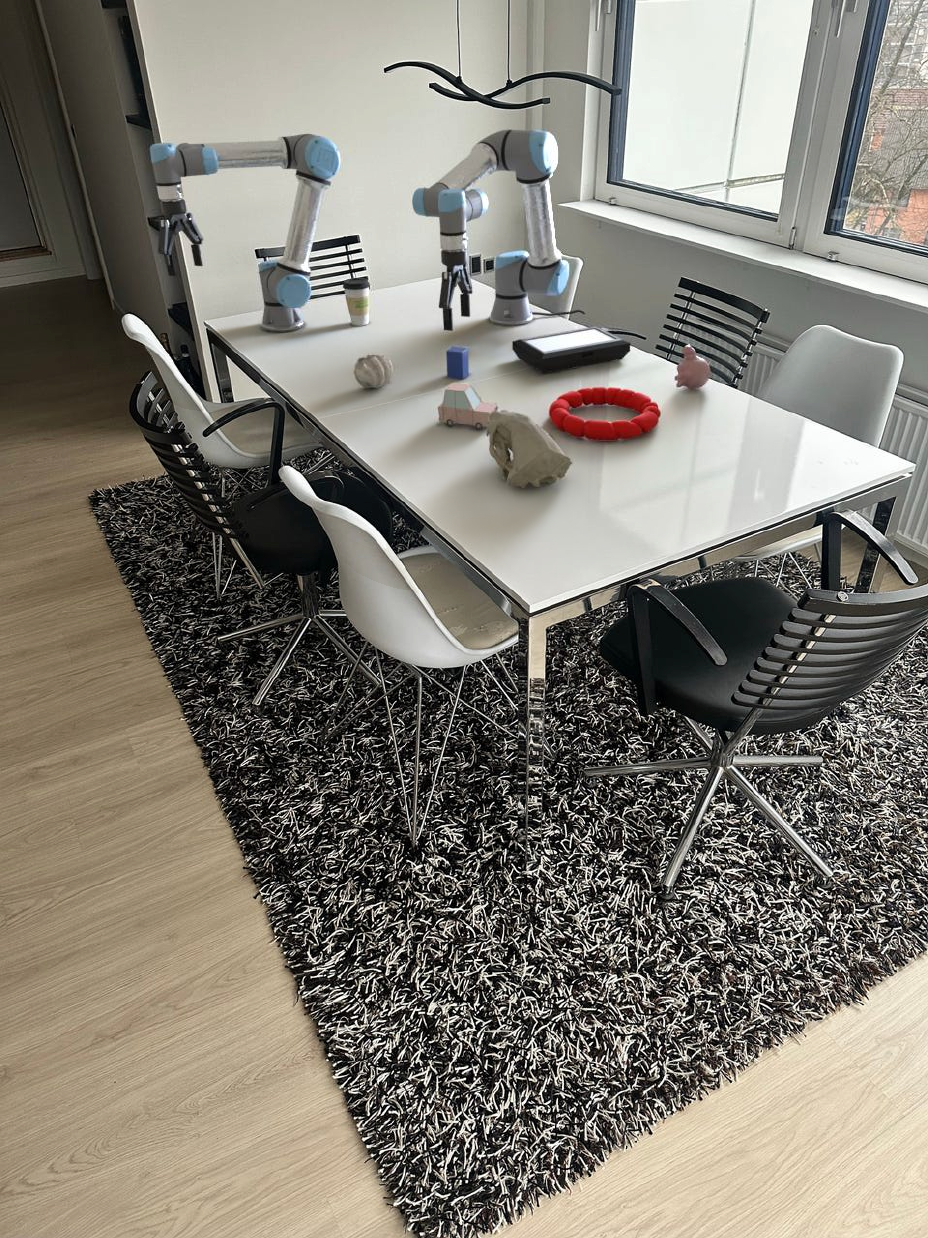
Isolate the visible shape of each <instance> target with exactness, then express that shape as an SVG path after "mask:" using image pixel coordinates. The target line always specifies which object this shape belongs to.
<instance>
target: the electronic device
mask: <svg viewBox="0 0 928 1238" xmlns="http://www.w3.org/2000/svg"><path fill="white" fill-rule="evenodd" d="M511 349H512V350H513V352H514V354H515V355H516V356H517V358H518V359H519V360H520V361H522V362H523V363H526V364H527V365H529V366H530V367H532V368H534V369H536V370H537V371H539V372H540V373H541V374H548V373H553V372H554V373H555V372H559V371H565V370H571V369H577V368H582V367H587V366H593V365H597V364H604V363H609V362H615V361H619V360H623V359H624V358H625V357H626V356H627V355H628V354H629V353H630V351H631V342H630V341H627V340H625V339H623V338H621V337H619V336H617V335H615V334H613V333H611V332H609V331H607V330H605V329H603V328H601V327H599V326H591V327H590V326H589V327H585V328H579V329H573V330H568V331H567V330H566V331H561V332H555V333H551V334H544V335H538V336H532V337H526V338H520V339H516V340H513V341H511Z"/></svg>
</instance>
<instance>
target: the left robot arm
mask: <svg viewBox="0 0 928 1238" xmlns="http://www.w3.org/2000/svg"><path fill="white" fill-rule="evenodd" d="M149 152H150V161H151V165H152V170H153V175H154V178H155V184H156V190H157V194H158V199H159V200H160V203H159V205H160V209H161V213H162V214H163V215H164V216H165V219H159V220H158V225H159V233H158V246H157V253H158V254H160V255H162V256H163V257H164V262H165V265H166V270H167V273H168V274H167V275H168V276H169V277H177V276H178V273H177V268H176V263H175V258H174V257H175V256H174V253H172V250H173V246H174V242H175V238H176V236H177V235H178V234H179V233H180V232H183V234H184V235H185V237H187V239H188V240H189V241H190V242H191V243H192V244H190V247H191V248H190V249H191V254H192V260H193V265H194V266H195V267H203V266H204V264H203V260H202V259H203V258H202V251H201V246H200V245H203V241H204V237H203V235H202V233H201V231H200V230H199V228H198V225H197V223H196V221H195V220H194V217H193V213H192V212H187V211H188V209H187V205H186V200H185V199H184V197H185V194H184V190H183V185H182V178H186V177H197V176H209V175H215V174H218V171H219V170H223V169H243V168H244V169H245V168H246V169H247V168H267V167H269V168H270V167H281V169H283V170H295V178H296V179H297V182H298V185H297V189H296V193H295V199H294V204H293V208H292V214H291V217H290V223H289V227H288V232H287V237H286V241H285V245H284V246H285V248H284V252H283V256H282V257H281V258H279V259H271V260H265V261H260V263H259V264H258V275H259V279H260V287H261V292H262V293H261V294H262V299H263V313H262V319H261V326H262V330H264V331H265V332H271V333H286V332H293V331H296V330H297V331H298V330H300V329H302V328H304V326H305V318H304V317H303V314H302V312H301V310H300V308H301V307H303V306H305V305H306V304H307V303H308V302H309V300H310V298H311V295H312V286H311V282H310V279H311V273H312V269H311V267H310V266H309V262H310V257H311V253H312V248H313V244H314V240H315V235H316V231H317V226H318V221H319V217H320V213H321V208H322V204H323V199H324V194H325V191H326V190H328V189H329V188H331V186H332V185H331V184H332V180H333V178H334V176H336V174H338V171H339V169H340V167H341V154H340V151H339V149H338V147H337V145H336V144H335V143H334V142H333V141H332V140H330V139H329V138H327V137H325V136H321V135H316V134H312V133H302V134H301V133H300V134H296V135H288V136H279V137H278V138H277V139H276V140H257V141H256V140H255V141H232V142H229V141H228V142H207V143H205V142H204V143H188V142H181V143H179V144H177V145H176V146H175V144H174V143H172V142H160V143H153V144H152V145H150V147H149Z"/></svg>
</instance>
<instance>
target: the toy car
mask: <svg viewBox="0 0 928 1238" xmlns="http://www.w3.org/2000/svg"><path fill="white" fill-rule="evenodd" d="M498 409H499V404H498V403H497V402H490V401H489V402H487V401H483V397H481V396H480V395H479V394H478V393H477V391H476V390H475V389H474V386H472V384H469V383H459V382H451V383H450V384H449V385H448V386H447V387H446V388H445V389H444V394H443V399H442V403H440V404H439V405H438V406H437V413H438V421H439V422H443V423H446V425H447V426H448V427H452V426H454V425H455V424H461V425H469V426H473V427H475V429H476V430H479V431H480V430H481V429H483V428H485V427H486V428H487V423H488V422H490V414H491V413H492V412H496V411H499V410H498Z"/></svg>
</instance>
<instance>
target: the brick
mask: <svg viewBox="0 0 928 1238" xmlns="http://www.w3.org/2000/svg"><path fill="white" fill-rule="evenodd" d="M445 355H446V376H447V377H446V378H448V379H454V380H465V378H467V377H468V376H469V375H470V373H469V370H470V369H469V366H470V365H469V348H468V347H461V346H451V347H449V348H448V349H447V350H446V351H445Z"/></svg>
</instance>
